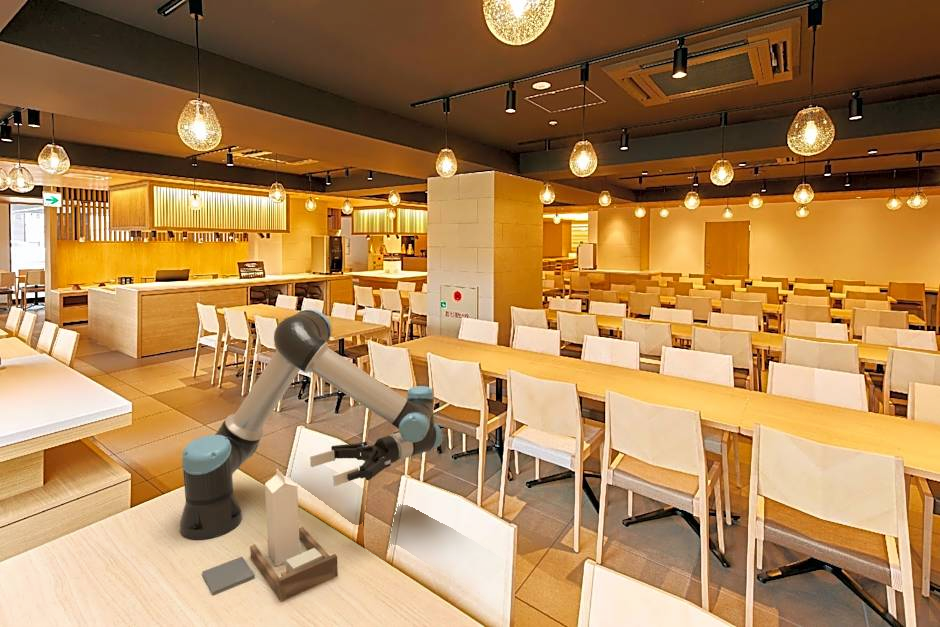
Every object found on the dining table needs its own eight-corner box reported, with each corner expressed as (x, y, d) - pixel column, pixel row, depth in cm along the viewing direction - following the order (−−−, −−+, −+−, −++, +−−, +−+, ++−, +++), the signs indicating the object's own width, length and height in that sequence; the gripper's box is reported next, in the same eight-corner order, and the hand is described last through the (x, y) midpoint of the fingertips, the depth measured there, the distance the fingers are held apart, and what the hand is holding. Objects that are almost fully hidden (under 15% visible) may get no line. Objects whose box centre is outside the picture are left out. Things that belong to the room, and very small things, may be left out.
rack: (250, 557, 127) (249, 538, 126) (303, 537, 135) (302, 519, 135) (280, 601, 112) (280, 580, 111) (337, 575, 120) (337, 556, 120)
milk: (275, 566, 124) (271, 481, 120) (268, 554, 128) (263, 471, 125) (300, 557, 127) (296, 474, 124) (292, 545, 132) (288, 464, 128)
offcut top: (286, 572, 117) (285, 560, 117) (314, 559, 122) (314, 547, 122) (293, 580, 115) (293, 568, 114) (322, 567, 119) (322, 555, 119)
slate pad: (202, 574, 120) (202, 571, 120) (242, 559, 126) (242, 556, 126) (212, 595, 113) (212, 592, 113) (254, 578, 119) (254, 574, 119)
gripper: (418, 476, 136) (345, 503, 122) (371, 447, 155) (303, 467, 141) (418, 449, 135) (344, 474, 121) (370, 423, 153) (301, 442, 140)
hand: (321, 470), depth 131 cm, fingers open, 13 cm apart
